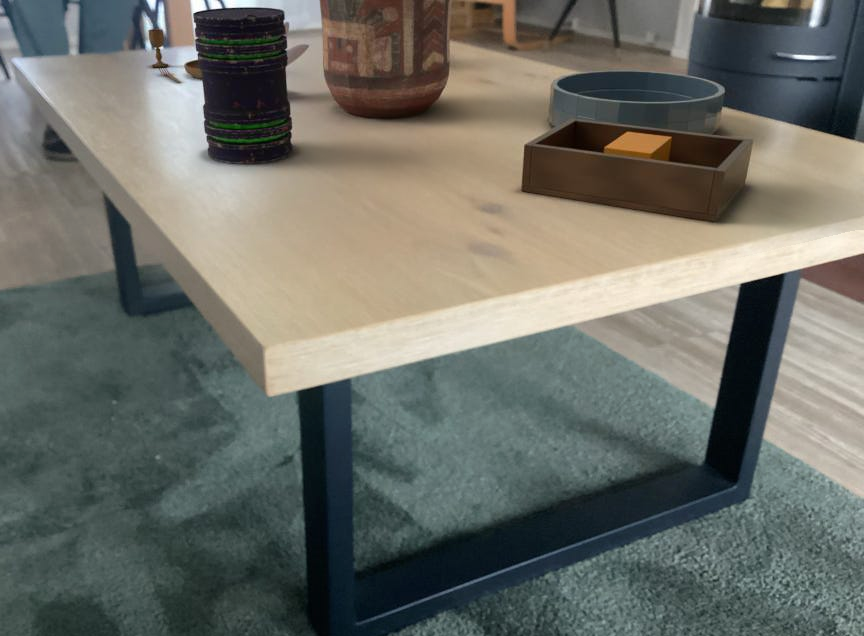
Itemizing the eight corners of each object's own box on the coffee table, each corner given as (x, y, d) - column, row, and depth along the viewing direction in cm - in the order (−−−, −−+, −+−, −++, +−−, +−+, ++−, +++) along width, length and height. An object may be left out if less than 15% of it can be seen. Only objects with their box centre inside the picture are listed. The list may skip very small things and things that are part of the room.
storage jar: (193, 149, 100) (177, 11, 93) (269, 137, 105) (260, 5, 98) (229, 169, 93) (215, 21, 86) (309, 155, 98) (302, 13, 90)
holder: (744, 185, 86) (753, 139, 84) (715, 222, 76) (724, 171, 74) (567, 160, 94) (571, 118, 92) (520, 191, 85) (524, 144, 83)
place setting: (178, 85, 134) (173, 45, 131) (146, 66, 150) (141, 29, 147) (283, 75, 141) (281, 36, 138) (242, 57, 157) (240, 22, 154)
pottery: (433, 127, 108) (435, -30, 100) (303, 119, 113) (295, -32, 105) (464, 99, 123) (469, -40, 115) (348, 92, 128) (345, -41, 119)
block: (666, 176, 87) (672, 136, 85) (645, 195, 82) (651, 153, 80) (622, 170, 89) (627, 131, 87) (599, 188, 84) (604, 147, 82)
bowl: (733, 119, 111) (741, 78, 108) (693, 156, 96) (701, 110, 93) (581, 102, 120) (585, 65, 118) (522, 134, 105) (525, 92, 103)
